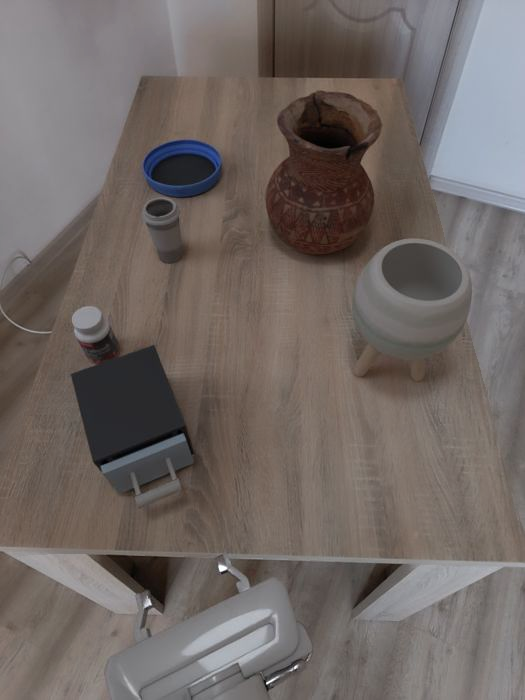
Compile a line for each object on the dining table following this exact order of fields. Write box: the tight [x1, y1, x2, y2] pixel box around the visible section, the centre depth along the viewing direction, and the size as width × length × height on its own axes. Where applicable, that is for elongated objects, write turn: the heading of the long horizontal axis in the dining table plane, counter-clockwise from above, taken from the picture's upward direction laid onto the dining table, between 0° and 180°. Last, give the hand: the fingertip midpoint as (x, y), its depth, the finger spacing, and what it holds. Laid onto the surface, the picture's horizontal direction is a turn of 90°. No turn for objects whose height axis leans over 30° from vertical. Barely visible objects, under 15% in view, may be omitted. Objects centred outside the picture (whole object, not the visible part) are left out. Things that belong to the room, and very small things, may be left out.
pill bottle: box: [71, 305, 120, 365], centre depth 79 cm, size 6×6×10 cm
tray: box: [101, 431, 195, 509], centre depth 68 cm, size 18×11×8 cm, turn 24°
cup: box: [141, 196, 183, 264], centre depth 91 cm, size 7×7×12 cm
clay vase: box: [265, 90, 383, 255], centre depth 90 cm, size 22×21×25 cm
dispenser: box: [70, 344, 196, 473], centre depth 71 cm, size 15×13×10 cm
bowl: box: [142, 138, 223, 198], centre depth 110 cm, size 18×18×4 cm
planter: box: [351, 238, 473, 382], centre depth 72 cm, size 16×16×22 cm
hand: (182, 573), depth 54 cm, fingers open, 8 cm apart
